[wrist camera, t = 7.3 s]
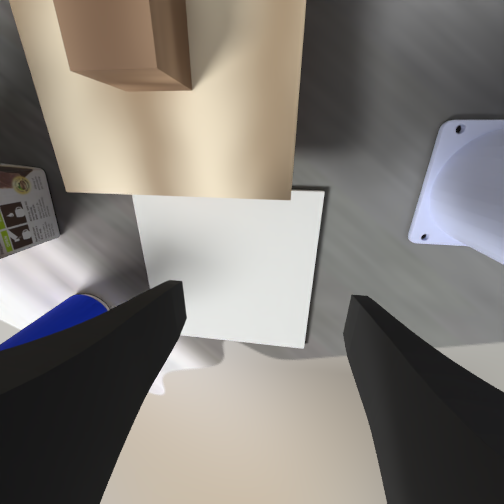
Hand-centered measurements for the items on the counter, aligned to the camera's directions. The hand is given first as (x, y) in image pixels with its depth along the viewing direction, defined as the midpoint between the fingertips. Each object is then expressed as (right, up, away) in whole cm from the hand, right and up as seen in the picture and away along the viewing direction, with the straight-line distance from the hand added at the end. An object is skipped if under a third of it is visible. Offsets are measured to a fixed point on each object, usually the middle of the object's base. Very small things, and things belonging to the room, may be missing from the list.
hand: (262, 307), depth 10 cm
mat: (-3, 0, +11) cm, 11 cm away
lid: (-5, +12, +2) cm, 14 cm away
